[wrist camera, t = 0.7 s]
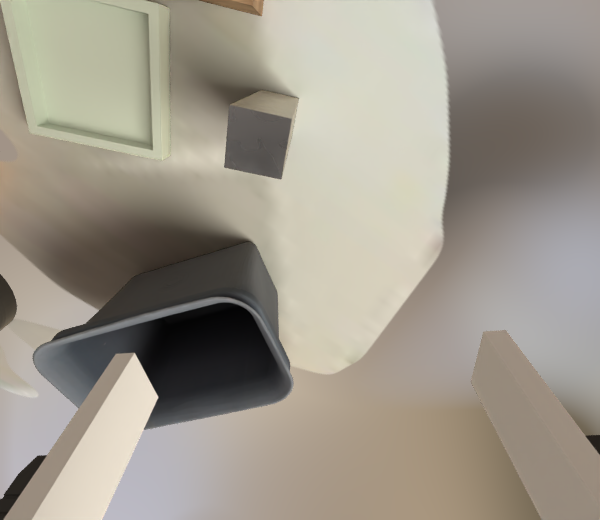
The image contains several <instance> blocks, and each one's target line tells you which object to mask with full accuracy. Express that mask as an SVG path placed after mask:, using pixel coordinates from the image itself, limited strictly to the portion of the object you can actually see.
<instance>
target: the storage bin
mask: <svg viewBox="0 0 600 520" xmlns="http://www.w3.org/2000/svg"><path fill="white" fill-rule="evenodd" d="M122 353H135V354H136V356H137V358H138V360H139V362H140V364H141V366H142V368H143V369H144V371H145V373H146V375H147V377H148V379H149V381H150V383H151V384H152V386H153V388H154V390H155V392H156V394H157V396H158V399H157V401H156V403H155V406H154V408H153V410H152V412H151V414H150V417H149V419H148V421H147V423H146V425H145V427H144V430H146V429H152V428H156V427H161V426H166V425H171V424H176V423H181V422H186V421H192V420H197V419H202V418H207V417H212V416H217V415H223V414H227V413H232V412H237V411H242V410H247V409H251V408H257V407H262V406H267V405H270V404H274V403H277V402H279V401H281V400H283V399H285V398H286V397H287V396H288V395H289V394H290V392H291V391H292V388H293V378H292V375H291V374H290V362H289V359H288V357H287V355H286V352H285V350H284V348H283V346H282V344H281V342H280V340H279V327H278V295H277V290H276V288H275V286H274V284H273V282H272V280H271V278H270V275H269V273H268V271H267V269H266V267H265V265H264V262H263V260H262V258H261V256H260V253H259V251H258V249H257V247H256V245H255V244H253V243H251V242H246V243H242V244H239V245H236V246H232V247H229V248H226V249H223V250H219V251H216V252H213V253H209V254H206V255H203V256H199V257H196V258H193V259H189V260H186V261H183V262H180V263H176V264H173V265H170V266H166V267H163V268H160V269H157V270H153V271H150V272H146V273H143V274H139V275H136V276H134V277H133V278H132V279H131V280H130V281H129V282H128V283H127V284H126V285H125V286H124V287H123V288H122V289H121V290H120V291H119V292H118V293H117V294H116V295H115V296H114V297H113V298H112V299H111V300H110V301H109V302H108V303H107V304H106V305H105V306H104V307H103V308H101V309H100V310H99V311H98V313H96V314H95V315H94V316H93V317H92V318H91V319H90V320H89V321H88V322H87V323H86V324H83V325H80V326H76V327H73V328H69V329H66V330H63V331H61V332H59V333H57V334H56V335H55V336H54V338H53V339H52V340H51V341H50V342H47V343H45V344H42V345H41V346H39V347H38V348H37V349H36V350H35V352H34V354H33V361H34V365H35V367H36V368H37V370H38V371H39V373H41V375H42V376H44V377H45V378H46V379H47V380H48V381H49V382H50V383H51V384H52V385H53V386H55V387H56V388H57V389H58V390H59V391H60V392H61V393H62V394H63V395H64V396H65V397H67V398H68V399H69V400H70V401H71V402H72V403H73V404H75V405H76V406H77V407H78V408H80V406H81V405H82V403H83V402H84V400H85V399H86V397H87V396H88V394H89V393H90V391H91V390H92V388H93V387H94V385H95V384H96V383H97V381H98V380H99V378H100V377H101V375H102V374H103V372H104V371H105V369H106V368H107V366H108V365H109V363H110V362H111V360H112V359H113V357H114V356H115V355H116V354H122Z"/></svg>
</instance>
